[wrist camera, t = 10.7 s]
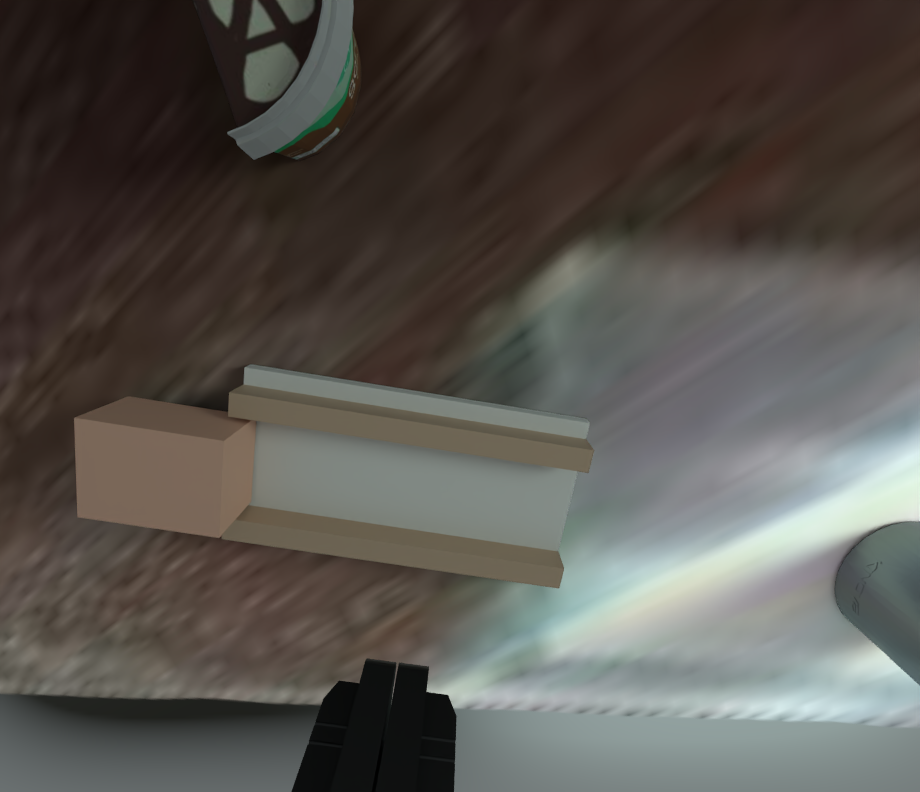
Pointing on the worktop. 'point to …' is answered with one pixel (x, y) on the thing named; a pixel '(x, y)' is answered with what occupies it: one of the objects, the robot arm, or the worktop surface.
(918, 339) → the worktop surface
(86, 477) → the block
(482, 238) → the worktop surface
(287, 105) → the food container
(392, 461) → the chute
